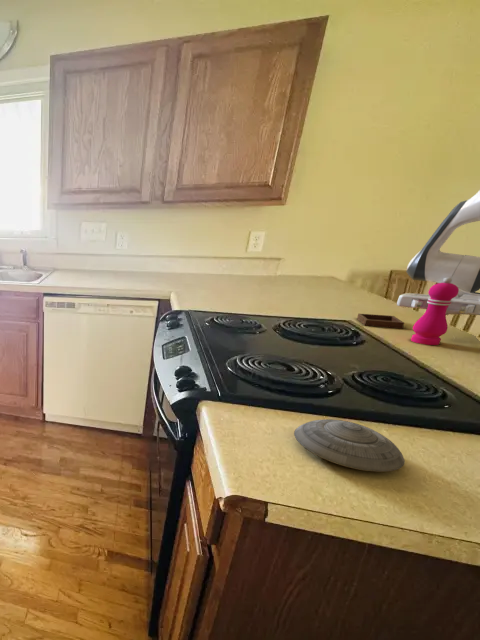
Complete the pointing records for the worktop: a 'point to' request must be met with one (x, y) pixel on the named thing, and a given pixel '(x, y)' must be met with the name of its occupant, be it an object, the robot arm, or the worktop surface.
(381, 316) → the tray
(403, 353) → the worktop surface
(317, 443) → the flying saucer
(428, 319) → the pepper mill
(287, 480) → the worktop surface
